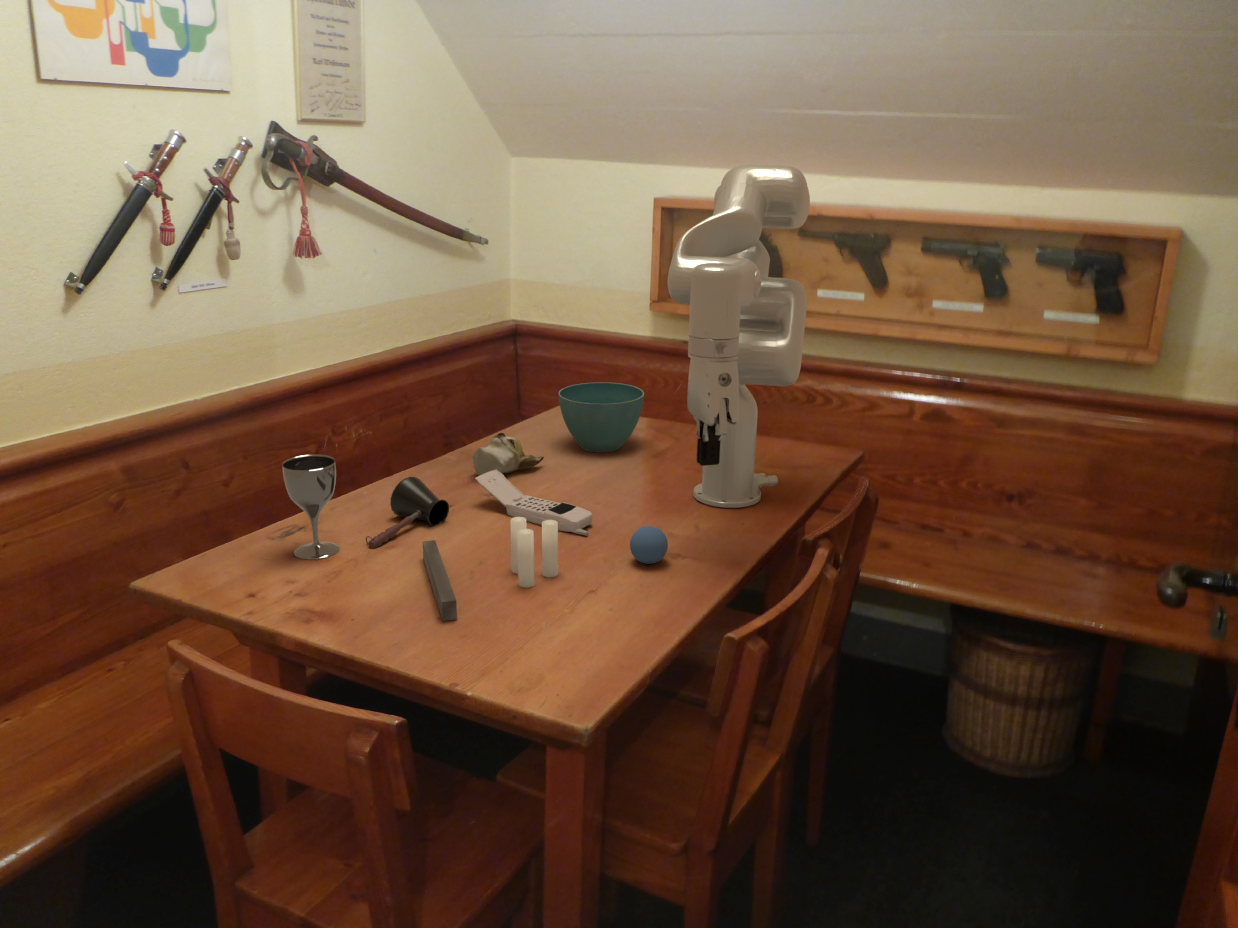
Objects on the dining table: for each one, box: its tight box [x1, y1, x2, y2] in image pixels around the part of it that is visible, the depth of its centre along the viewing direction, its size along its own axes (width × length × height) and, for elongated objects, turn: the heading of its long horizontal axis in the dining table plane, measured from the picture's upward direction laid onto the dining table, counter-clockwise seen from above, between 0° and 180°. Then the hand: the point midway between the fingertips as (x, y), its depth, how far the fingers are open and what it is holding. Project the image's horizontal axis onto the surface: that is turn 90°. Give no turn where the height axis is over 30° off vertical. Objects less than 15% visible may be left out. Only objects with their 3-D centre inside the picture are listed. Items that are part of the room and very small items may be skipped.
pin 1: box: [509, 517, 527, 575], centre depth 150 cm, size 2×2×8 cm
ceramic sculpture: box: [472, 432, 545, 476], centre depth 194 cm, size 11×9×15 cm
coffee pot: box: [365, 476, 450, 549], centre depth 166 cm, size 8×18×8 cm
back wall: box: [422, 539, 458, 623], centre depth 145 cm, size 2×22×3 cm, turn 18°
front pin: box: [541, 520, 559, 578], centre depth 149 cm, size 2×2×8 cm
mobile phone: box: [474, 470, 593, 536], centre depth 172 cm, size 6×6×25 cm
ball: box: [629, 525, 669, 565], centre depth 154 cm, size 6×6×6 cm
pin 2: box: [517, 528, 535, 588], centre depth 145 cm, size 2×2×8 cm
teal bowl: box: [558, 381, 645, 454], centre depth 210 cm, size 18×18×12 cm
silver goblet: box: [281, 454, 341, 561], centre depth 155 cm, size 8×8×15 cm
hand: (707, 463), depth 152 cm, fingers closed
